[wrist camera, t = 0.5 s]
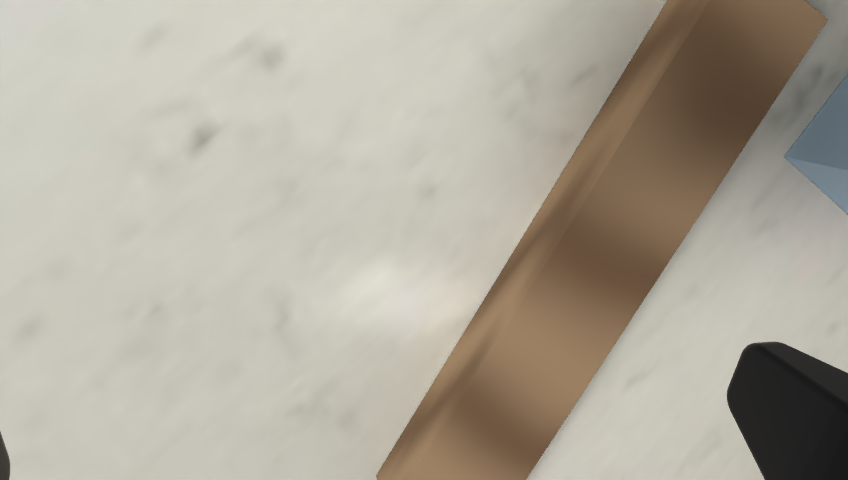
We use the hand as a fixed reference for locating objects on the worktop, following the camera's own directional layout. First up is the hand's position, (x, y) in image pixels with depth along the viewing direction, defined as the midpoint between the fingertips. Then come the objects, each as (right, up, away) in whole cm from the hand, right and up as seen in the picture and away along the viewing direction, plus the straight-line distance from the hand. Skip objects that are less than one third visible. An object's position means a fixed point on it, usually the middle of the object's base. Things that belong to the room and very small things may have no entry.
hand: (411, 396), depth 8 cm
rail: (+5, +1, +16) cm, 17 cm away
